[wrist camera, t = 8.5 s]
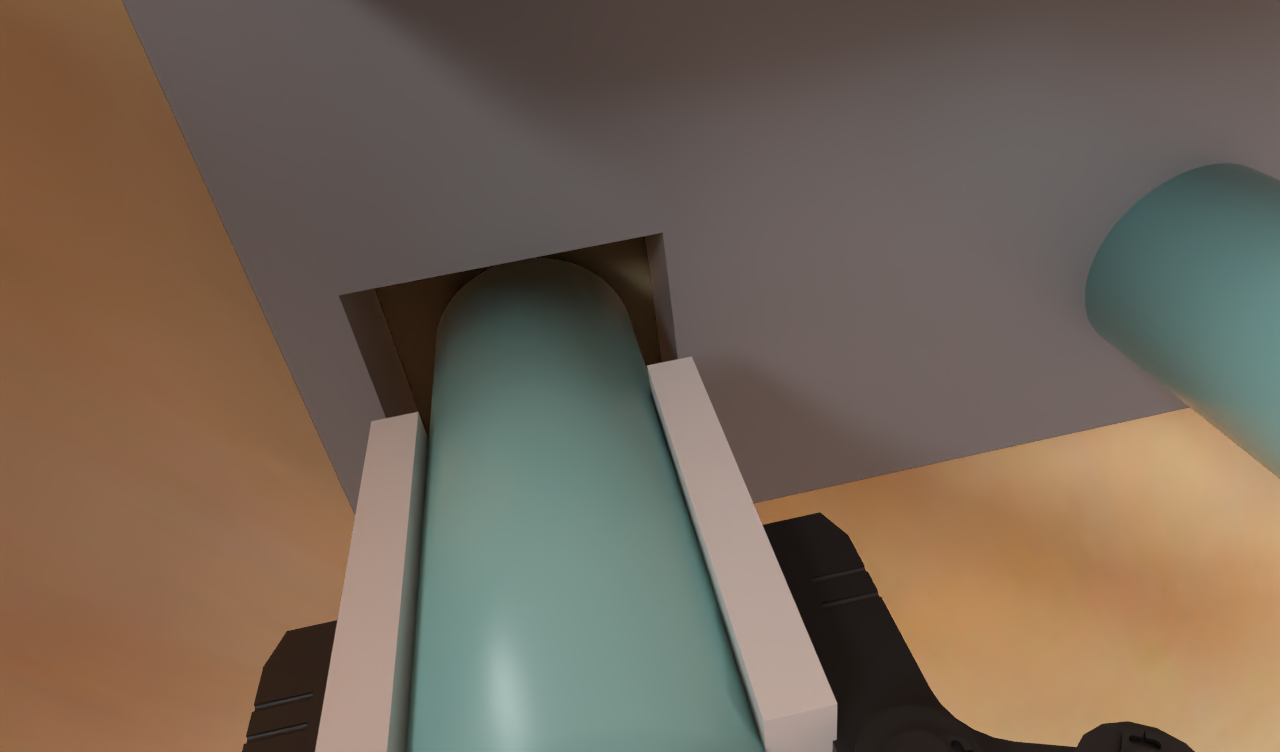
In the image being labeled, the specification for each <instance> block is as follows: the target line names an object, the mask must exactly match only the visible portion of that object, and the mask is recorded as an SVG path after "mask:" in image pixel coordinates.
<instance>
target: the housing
mask: <svg viewBox="0 0 1280 752" xmlns="http://www.w3.org/2000/svg"><path fill="white" fill-rule="evenodd" d="M122 2H123V4H124V6H125V9H126V11H127V13H128V15H129V17H130V20H131V22H132V24H133V26H134V28H135V31H136V33H137V35H138V37H139V39H140V42H141V44H142V46H143V48H144V50H145V53H146V55H147V57H148V59H149V62H150V64H151V66H152V68H153V70H154V73H155V75H156V77H157V79H158V81H159V84H160V86H161V88H162V90H163V92H164V95H165V97H166V99H167V101H168V103H169V106H170V108H171V110H172V112H173V114H174V117H175V119H176V121H177V123H178V126H179V128H180V130H181V132H182V134H183V137H184V139H185V141H186V143H187V145H188V148H189V150H190V152H191V154H192V156H193V159H194V161H195V163H196V165H197V167H198V170H199V172H200V174H201V176H202V178H203V181H204V183H205V185H206V187H207V190H208V192H209V194H210V196H211V198H212V201H213V203H214V205H215V207H216V209H217V212H218V214H219V216H220V218H221V220H222V223H223V225H224V227H225V229H226V231H227V234H228V236H229V238H230V240H231V242H232V245H233V247H234V249H235V251H236V254H237V256H238V258H239V260H240V262H241V265H242V267H243V269H244V271H245V273H246V276H247V278H248V280H249V282H250V284H251V287H252V289H253V291H254V293H255V295H256V298H257V300H258V302H259V304H260V306H261V309H262V311H263V313H264V315H265V318H266V320H267V322H268V324H269V326H270V329H271V331H272V333H273V335H274V337H275V340H276V342H277V344H278V346H279V348H280V351H281V353H282V355H283V357H284V359H285V362H286V364H287V366H288V368H289V370H290V373H291V375H292V377H293V379H294V382H295V384H296V386H297V388H298V390H299V393H300V395H301V397H302V399H303V401H304V404H305V406H306V408H307V410H308V412H309V415H310V417H311V419H312V421H313V423H314V426H315V428H316V430H317V432H318V434H319V437H320V439H321V441H322V443H323V446H324V448H325V450H326V452H327V454H328V457H329V459H330V461H331V463H332V465H333V468H334V470H335V472H336V474H337V476H338V479H339V481H340V483H341V485H342V487H343V490H344V492H345V494H346V496H347V498H348V501H349V503H350V505H351V507H352V510H353V512H354V514H356V508H357V502H358V497H359V491H360V485H361V479H362V473H363V467H364V461H365V456H366V450H367V444H368V438H369V432H370V426H371V421H375V420H380V419H385V418H390V417H395V416H400V415H405V414H410V413H415V412H418V409H417V406H416V403H415V400H414V398H413V395H412V392H411V389H410V386H409V384H408V381H407V378H406V375H405V372H404V370H403V367H402V364H401V361H400V358H399V355H398V353H397V350H396V347H395V344H394V341H393V339H392V336H391V333H390V330H389V327H388V324H387V322H386V319H385V316H384V313H383V310H382V308H381V305H380V302H379V299H378V296H377V294H376V291H375V288H380V287H385V286H390V285H395V284H400V283H405V282H411V281H416V280H421V279H426V278H431V277H436V276H442V275H447V274H452V273H457V272H462V271H467V270H473V269H478V268H483V267H488V266H493V265H498V264H504V263H509V262H514V261H519V260H524V259H529V258H535V257H540V256H545V255H550V254H555V253H560V252H566V251H571V250H576V249H581V248H586V247H591V246H597V245H602V244H607V243H612V242H617V241H622V240H628V239H633V238H638V237H643V236H645V240H646V248H647V255H648V263H649V270H650V278H651V285H652V293H653V300H654V308H655V315H656V323H657V330H658V338H659V345H660V353H661V360H662V362H667V361H671V360H676V359H681V358H686V357H691V356H692V358H693V360H694V363H695V365H696V368H697V370H698V372H699V375H700V377H701V380H702V382H703V384H704V387H705V389H706V391H707V394H708V396H709V399H710V401H711V403H712V406H713V408H714V411H715V413H716V415H717V418H718V420H719V422H720V425H721V427H722V430H723V432H724V434H725V437H726V439H727V442H728V444H729V446H730V449H731V451H732V453H733V456H734V458H735V461H736V463H737V465H738V468H739V470H740V473H741V475H742V477H743V480H744V482H745V485H746V487H747V489H748V492H749V494H750V496H751V499H752V501H753V503H757V502H762V501H766V500H771V499H775V498H780V497H785V496H789V495H794V494H798V493H803V492H807V491H812V490H816V489H821V488H825V487H830V486H834V485H839V484H844V483H848V482H853V481H857V480H862V479H866V478H871V477H875V476H880V475H884V474H889V473H894V472H898V471H903V470H907V469H912V468H916V467H921V466H925V465H930V464H934V463H939V462H943V461H948V460H953V459H957V458H962V457H966V456H971V455H975V454H980V453H984V452H989V451H993V450H998V449H1002V448H1007V447H1012V446H1016V445H1021V444H1025V443H1030V442H1034V441H1039V440H1043V439H1048V438H1052V437H1057V436H1062V435H1066V434H1071V433H1075V432H1080V431H1084V430H1089V429H1093V428H1098V427H1102V426H1107V425H1111V424H1116V423H1121V422H1125V421H1130V420H1134V419H1139V418H1143V417H1148V416H1152V415H1157V414H1161V413H1166V412H1171V411H1175V410H1180V409H1184V408H1189V407H1190V408H1192V409H1193V410H1194V411H1195V412H1197V413H1198V414H1199V415H1200V416H1202V417H1203V418H1204V419H1206V420H1207V421H1208V422H1209V423H1211V424H1212V425H1213V426H1214V427H1216V428H1217V429H1218V430H1219V431H1221V432H1222V433H1223V434H1224V435H1226V436H1227V437H1228V438H1229V439H1231V440H1232V441H1233V442H1234V443H1236V444H1237V445H1238V446H1239V447H1241V448H1242V449H1243V450H1244V451H1246V452H1247V453H1248V454H1249V455H1251V456H1252V457H1253V458H1254V459H1256V460H1257V461H1258V462H1259V463H1261V464H1262V465H1263V466H1264V467H1266V468H1267V469H1268V470H1269V471H1271V472H1272V473H1273V474H1274V475H1276V476H1277V477H1278V478H1279V479H1280V0H122ZM418 413H419V412H418ZM420 418H421V417H420ZM421 421H422V420H421ZM422 424H423V423H422ZM423 427H424V426H423ZM425 432H426V431H425ZM426 435H427V434H426ZM427 438H428V437H427ZM428 441H429V440H428Z"/></svg>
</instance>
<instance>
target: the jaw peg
mask: <svg viewBox="0 0 1280 752" xmlns="http://www.w3.org/2000/svg"><path fill="white" fill-rule="evenodd" d="M406 752H764V749H763V745H762V742H761V739H760V736H759V733H758V730H757V727H756V723H755V720H754V717H753V714H752V711H751V708H750V704H749V701H748V698H747V695H746V692H745V689H744V685H743V682H742V679H741V676H740V673H739V670H738V667H737V663H736V660H735V657H734V654H733V651H732V648H731V644H730V641H729V638H728V635H727V632H726V629H725V626H724V622H723V619H722V616H721V613H720V610H719V607H718V603H717V600H716V597H715V594H714V591H713V588H712V584H711V581H710V578H709V575H708V572H707V569H706V566H705V562H704V559H703V556H702V553H701V550H700V547H699V543H698V540H697V537H696V534H695V531H694V528H693V524H692V521H691V518H690V515H689V512H688V509H687V506H686V502H685V499H684V496H683V493H682V490H681V487H680V483H679V480H678V477H677V474H676V471H675V468H674V465H673V461H672V458H671V455H670V452H669V449H668V446H667V442H666V439H665V436H664V433H663V430H662V427H661V423H660V420H659V417H658V414H657V411H656V408H655V405H654V401H653V398H652V395H651V389H650V382H649V375H648V372H647V369H646V366H645V363H644V360H643V357H642V353H641V350H640V347H639V344H638V341H637V338H636V335H635V332H634V329H633V325H632V322H631V319H630V316H629V314H628V311H627V309H626V307H625V305H624V303H623V302H622V300H621V298H620V297H619V296H618V294H617V293H616V292H615V291H614V289H613V288H612V287H611V286H610V285H608V284H607V283H606V282H605V281H604V280H603V279H601V278H600V277H599V276H597V275H596V274H594V273H593V272H591V271H589V270H587V269H585V268H583V267H581V266H578V265H575V264H573V263H570V262H565V261H561V260H557V259H548V258H529V259H524V260H519V261H514V262H509V263H504V264H500V265H497V266H494V267H492V268H489V269H488V270H486V271H484V272H482V273H480V274H478V275H477V276H475V277H474V278H473V279H471V280H470V281H468V282H467V283H466V284H465V285H464V286H463V287H462V288H461V289H460V290H459V291H458V292H457V293H456V294H455V295H454V297H453V298H452V299H451V300H450V302H449V304H448V305H447V307H446V309H445V310H444V312H443V315H442V317H441V320H440V322H439V326H438V330H437V337H436V350H435V363H434V377H433V390H432V404H431V417H430V431H429V445H428V459H427V472H426V486H425V499H424V513H423V526H422V540H421V553H420V567H419V580H418V594H417V607H416V621H415V634H414V648H413V661H412V675H411V688H410V702H409V715H408V729H407V742H406Z"/></svg>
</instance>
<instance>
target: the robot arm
mask: <svg viewBox="0 0 1280 752" xmlns="http://www.w3.org/2000/svg"><path fill="white" fill-rule="evenodd" d="M647 368H648V375H649V382H650V389H651V395H652V398H653V401H654V405H655V408H656V411H657V414H658V417H659V420H660V423H661V427H662V430H663V433H664V436H665V439H666V442H667V446H668V449H669V452H670V455H671V458H672V461H673V465H674V468H675V471H676V474H677V477H678V480H679V483H680V487H681V490H682V493H683V496H684V499H685V502H686V506H687V509H688V512H689V515H690V518H691V521H692V524H693V528H694V531H695V534H696V537H697V540H698V543H699V547H700V550H701V553H702V556H703V559H704V562H705V566H706V569H707V572H708V575H709V578H710V581H711V584H712V588H713V591H714V594H715V597H716V600H717V603H718V607H719V610H720V613H721V616H722V619H723V622H724V626H725V629H726V632H727V635H728V638H729V641H730V644H731V648H732V651H733V654H734V657H735V660H736V663H737V667H738V670H739V673H740V676H741V679H742V682H743V685H744V689H745V692H746V695H747V698H748V701H749V704H750V708H751V711H752V714H753V717H754V720H755V723H756V727H757V730H758V733H759V736H760V739H761V742H762V745H763V749H764V752H1194V751H1193V750H1192V749H1191V748H1190V747H1189V746H1188V745H1187V744H1186V743H1184V742H1182V741H1180V740H1178V739H1176V738H1174V737H1172V736H1171V735H1169V734H1167V733H1165V732H1163V731H1161V730H1159V729H1157V728H1154V727H1149V726H1145V725H1141V724H1136V723H1132V722H1118V723H1107V724H1102V725H1100V726H1098V727H1096V728H1095V729H1093V730H1091V731H1089V732H1088V733H1086V734H1084V735H1083V737H1082V739H1081V741H1080V742H1079V744H1078V746H1077V747H1067V746H1056V745H1045V744H1034V743H1023V742H1013V741H1008V740H1003V739H998V738H993V737H991V736H988V735H986V734H983V733H981V732H978V731H976V730H974V729H972V728H970V727H969V726H967V725H966V724H964V723H963V722H961V721H959V720H958V719H956V718H955V717H954V716H953V715H952V714H951V713H950V712H949V711H948V710H946V709H945V708H944V707H943V706H942V705H941V704H940V702H939V701H938V699H937V698H936V696H935V695H934V694H933V692H932V691H931V689H930V687H929V686H928V684H927V682H926V680H925V678H924V676H923V674H922V673H921V671H920V669H919V667H918V665H917V663H916V661H915V659H914V658H913V656H912V654H911V652H910V650H909V648H908V646H907V644H906V643H905V641H904V639H903V637H902V635H901V633H900V631H899V630H898V628H897V626H896V624H895V622H894V620H893V618H892V616H891V615H890V613H889V611H888V609H887V607H886V605H885V603H884V601H883V600H882V598H881V597H879V595H878V590H877V588H876V586H875V585H874V583H873V581H872V579H871V577H870V575H869V573H868V572H866V571H865V567H864V564H863V562H862V560H861V558H860V557H859V555H858V553H857V551H856V549H855V547H854V545H853V543H852V542H851V540H850V538H849V536H848V535H847V534H846V533H845V532H843V531H842V530H841V529H840V528H838V527H837V526H836V525H835V524H833V523H832V522H831V521H830V520H829V519H827V518H826V517H825V516H824V515H822V514H821V513H816V514H811V515H806V516H802V517H797V518H793V519H788V520H783V521H779V522H774V523H770V524H765V525H762V523H761V520H760V518H759V516H758V513H757V511H756V508H755V506H754V504H753V501H752V499H751V496H750V494H749V492H748V489H747V487H746V485H745V482H744V480H743V477H742V475H741V473H740V470H739V468H738V465H737V463H736V461H735V458H734V456H733V453H732V451H731V449H730V446H729V444H728V442H727V439H726V437H725V434H724V432H723V430H722V427H721V425H720V422H719V420H718V418H717V415H716V413H715V411H714V408H713V406H712V403H711V401H710V399H709V396H708V394H707V391H706V389H705V387H704V384H703V382H702V380H701V377H700V375H699V372H698V370H697V368H696V365H695V363H694V360H693V358H692V356H691V357H686V358H681V359H676V360H671V361H667V362H662V363H657V364H652V365H647ZM428 445H429V441H428V438H427V435H426V432H425V429H424V427H423V424H422V421H421V418H420V415H419V413H418V412H415V413H410V414H405V415H400V416H395V417H390V418H385V419H380V420H375V421H371V426H370V432H369V438H368V444H367V450H366V456H365V461H364V467H363V473H362V479H361V485H360V491H359V497H358V502H357V508H356V514H355V520H354V526H353V532H352V538H351V543H350V549H349V555H348V561H347V567H346V573H345V579H344V585H343V590H342V596H341V602H340V608H339V614H338V620H336V621H332V622H327V623H323V624H318V625H313V626H309V627H304V628H300V629H295V630H291V631H287V632H286V634H285V635H284V637H283V638H282V640H281V641H280V643H279V644H278V646H277V647H276V649H275V650H274V652H273V653H272V655H271V656H270V658H269V659H268V661H267V662H266V664H265V666H264V667H263V671H262V675H261V679H260V683H259V687H258V691H257V695H256V699H255V703H254V706H255V711H254V712H252V715H251V719H250V723H249V727H248V731H247V735H246V736H247V743H246V744H244V747H243V751H242V752H406V742H407V729H408V715H409V702H410V688H411V675H412V661H413V648H414V634H415V621H416V607H417V594H418V580H419V567H420V553H421V540H422V526H423V513H424V499H425V486H426V472H427V459H428Z"/></svg>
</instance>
